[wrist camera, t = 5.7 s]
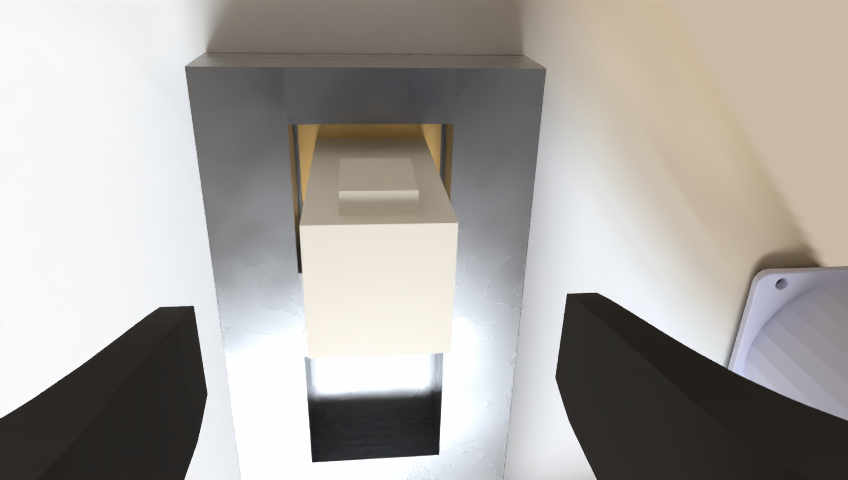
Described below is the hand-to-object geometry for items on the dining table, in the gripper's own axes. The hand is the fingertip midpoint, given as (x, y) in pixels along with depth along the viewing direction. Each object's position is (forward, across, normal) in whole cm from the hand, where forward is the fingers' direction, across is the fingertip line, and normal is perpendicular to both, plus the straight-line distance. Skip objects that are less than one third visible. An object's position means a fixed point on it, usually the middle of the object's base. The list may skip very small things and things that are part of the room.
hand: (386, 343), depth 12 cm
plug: (+9, 0, 0) cm, 9 cm away
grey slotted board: (+10, 0, +8) cm, 13 cm away
